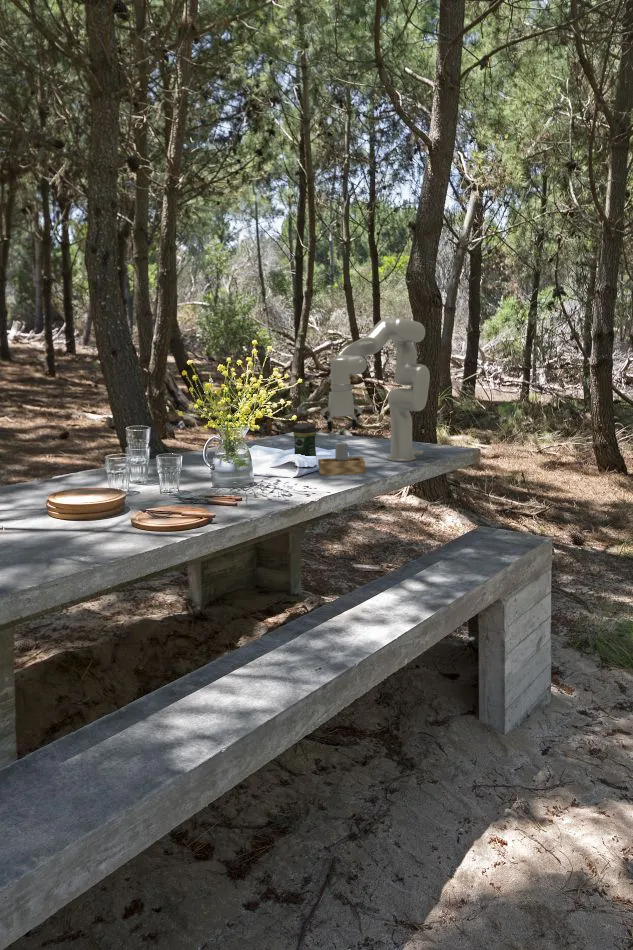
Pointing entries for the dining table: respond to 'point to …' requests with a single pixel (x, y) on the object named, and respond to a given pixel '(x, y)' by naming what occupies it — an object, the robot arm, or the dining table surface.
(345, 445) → the grey rectangular block
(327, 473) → the wooden box
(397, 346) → the robot arm
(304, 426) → the coffee jar
